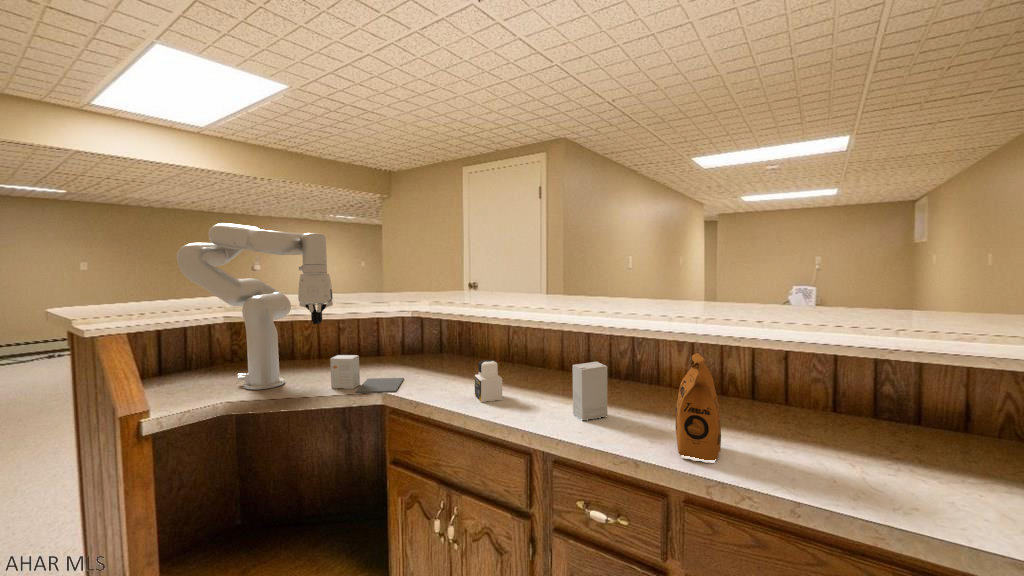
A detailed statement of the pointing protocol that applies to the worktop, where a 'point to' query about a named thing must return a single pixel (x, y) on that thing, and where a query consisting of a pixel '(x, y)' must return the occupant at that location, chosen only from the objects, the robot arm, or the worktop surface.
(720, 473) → the worktop surface
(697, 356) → the coffee package
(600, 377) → the skincare box
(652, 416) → the worktop surface
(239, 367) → the worktop surface
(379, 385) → the mat
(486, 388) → the medicine bottle
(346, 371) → the small box
